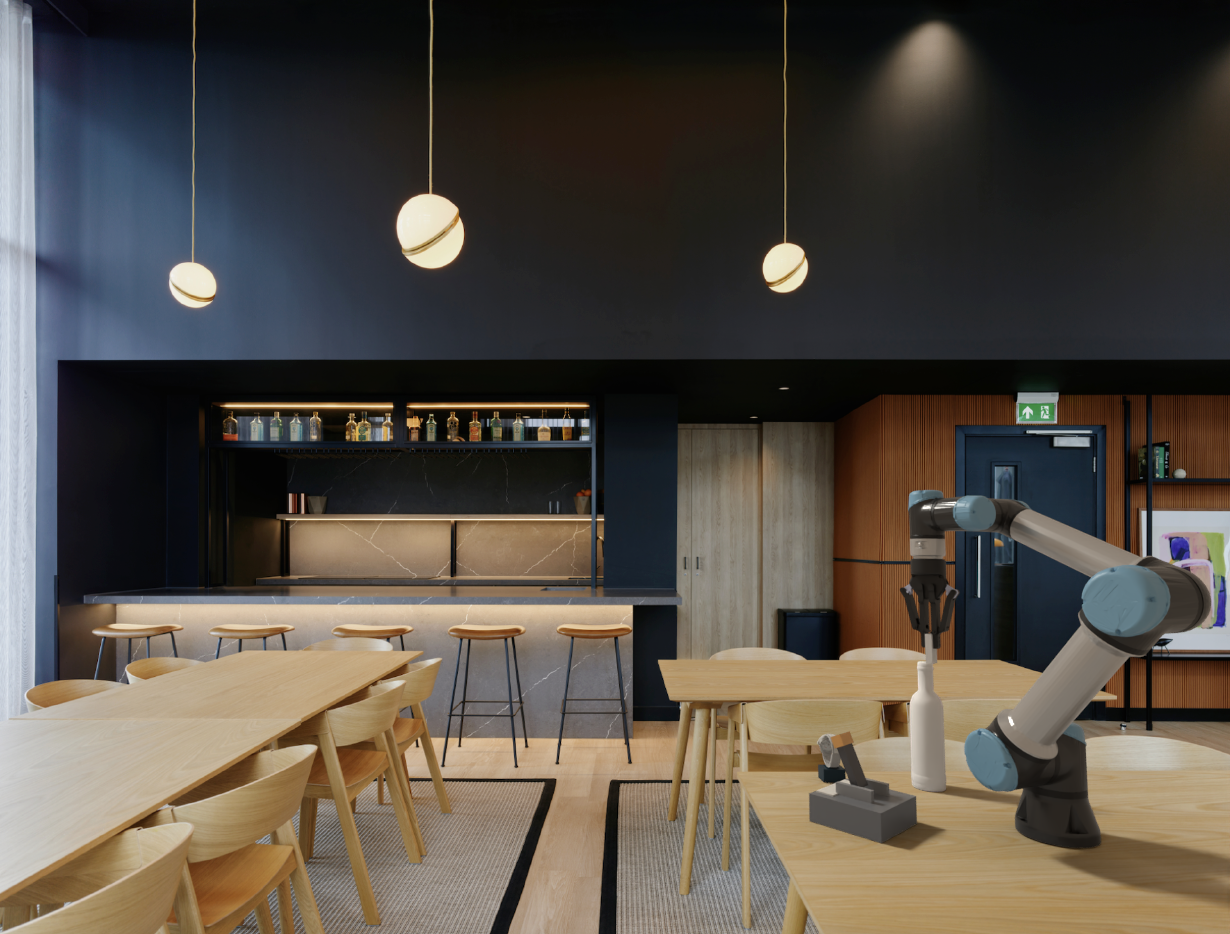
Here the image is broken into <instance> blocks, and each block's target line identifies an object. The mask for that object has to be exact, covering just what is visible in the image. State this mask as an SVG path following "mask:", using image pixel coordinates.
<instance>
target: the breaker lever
mask: <svg viewBox="0 0 1230 934" xmlns="http://www.w3.org/2000/svg"><path fill="white" fill-rule="evenodd" d="M835 735H836V736H833V737H831V740H832V743H833V745H834V748H837V750H838V753H839V755H840V758H841V760H840V762H842V767H843V768H844V769H845V772H846V776H847V779H849V782H850V784H851V785H855V786H859V787H865V786H867V785H868V783H867V780H866V778H867V777H866V776H865V773H864V770H863V767H862V766H861V763H860V760H859V758H858V755H857V752H856V750H855V748H854V745H853V744H854V742H855V741H854V739H853V737H852V734H851V731H846V732H843V733H840V734H835Z"/></svg>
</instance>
